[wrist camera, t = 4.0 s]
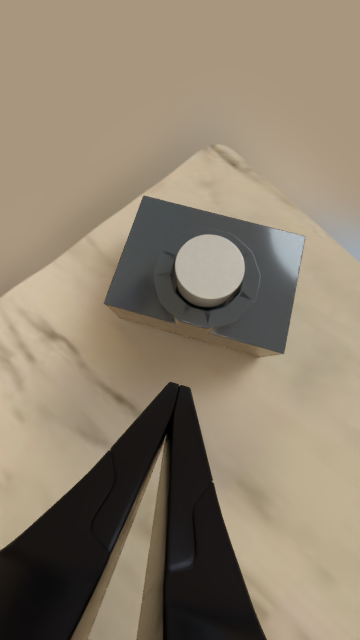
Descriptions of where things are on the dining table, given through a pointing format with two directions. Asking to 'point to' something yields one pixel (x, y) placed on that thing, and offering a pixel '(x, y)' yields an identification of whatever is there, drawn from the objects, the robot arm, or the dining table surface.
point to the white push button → (208, 270)
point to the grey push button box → (208, 322)
